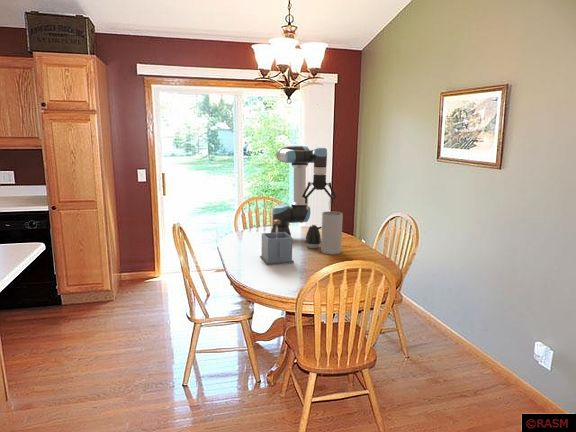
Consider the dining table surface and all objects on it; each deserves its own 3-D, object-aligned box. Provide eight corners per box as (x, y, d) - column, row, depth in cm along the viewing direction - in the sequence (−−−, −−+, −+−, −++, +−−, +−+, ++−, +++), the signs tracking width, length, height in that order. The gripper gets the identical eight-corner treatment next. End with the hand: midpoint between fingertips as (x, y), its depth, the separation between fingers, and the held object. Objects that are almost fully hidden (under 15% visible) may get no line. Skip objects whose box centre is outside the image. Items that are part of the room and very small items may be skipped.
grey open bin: (259, 257, 247) (260, 233, 244) (285, 255, 252) (285, 231, 249) (267, 266, 230) (267, 240, 227) (294, 263, 235) (295, 238, 232)
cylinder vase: (320, 249, 266) (321, 211, 261) (340, 249, 266) (341, 211, 261) (321, 254, 254) (322, 214, 249) (341, 255, 254) (343, 215, 249)
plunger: (264, 240, 243) (264, 218, 241) (283, 239, 247) (283, 217, 244) (269, 245, 232) (269, 222, 230) (289, 244, 236) (289, 221, 233)
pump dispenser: (320, 250, 264) (320, 227, 261) (304, 249, 266) (304, 226, 263) (322, 246, 274) (322, 223, 271) (306, 245, 276) (307, 222, 273)
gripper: (298, 174, 241) (297, 209, 245) (341, 175, 240) (339, 211, 244) (298, 173, 248) (298, 207, 253) (340, 174, 247) (338, 208, 252)
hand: (318, 209), depth 249 cm, fingers open, 13 cm apart
